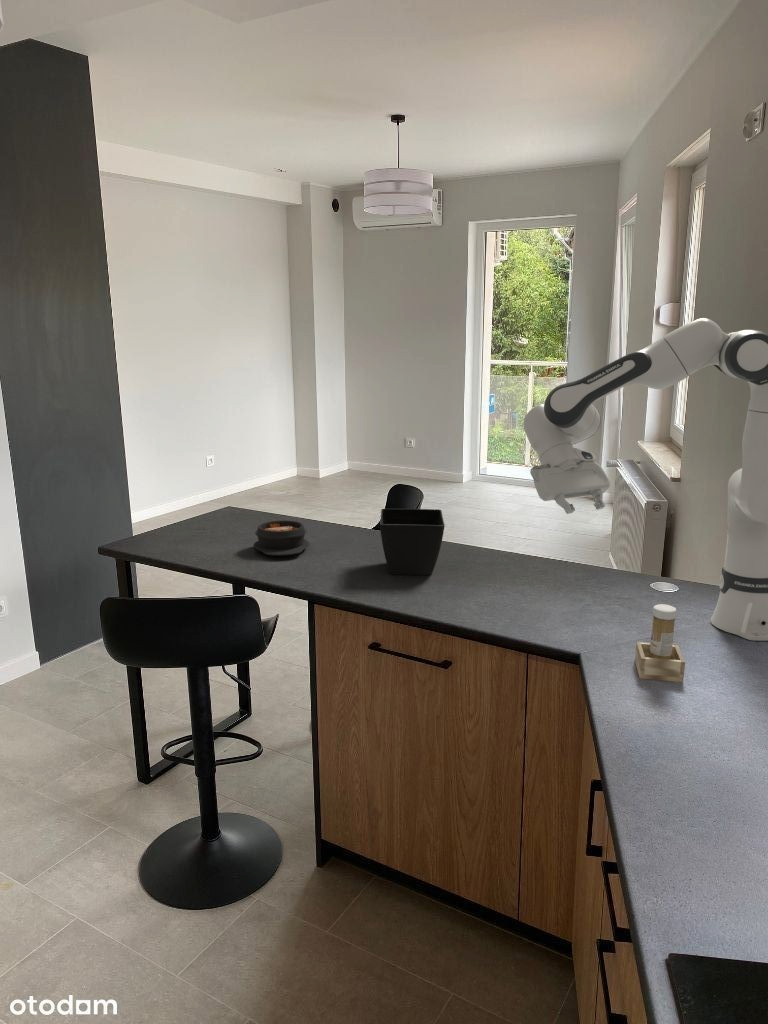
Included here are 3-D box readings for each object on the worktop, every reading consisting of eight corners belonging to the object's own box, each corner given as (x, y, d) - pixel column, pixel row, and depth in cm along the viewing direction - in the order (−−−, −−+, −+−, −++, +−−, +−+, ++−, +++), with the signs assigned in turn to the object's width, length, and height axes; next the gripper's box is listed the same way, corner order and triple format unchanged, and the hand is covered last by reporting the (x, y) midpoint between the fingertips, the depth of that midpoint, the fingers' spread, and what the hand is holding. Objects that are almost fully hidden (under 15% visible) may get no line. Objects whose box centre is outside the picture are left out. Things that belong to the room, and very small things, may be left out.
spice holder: (676, 664, 159) (678, 645, 158) (683, 682, 151) (685, 662, 150) (634, 660, 161) (636, 641, 159) (639, 678, 152) (641, 658, 151)
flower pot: (443, 579, 214) (445, 524, 210) (379, 578, 215) (379, 523, 211) (440, 560, 233) (441, 508, 229) (381, 559, 233) (381, 508, 229)
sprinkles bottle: (644, 662, 157) (649, 603, 154) (664, 661, 158) (670, 603, 155) (653, 671, 153) (659, 611, 150) (674, 670, 153) (680, 610, 150)
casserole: (252, 541, 254) (251, 518, 252) (305, 538, 257) (305, 515, 255) (254, 562, 230) (253, 537, 228) (313, 559, 234) (312, 533, 232)
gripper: (534, 458, 172) (559, 507, 166) (598, 452, 182) (625, 498, 175) (521, 474, 177) (545, 522, 171) (585, 467, 186) (610, 512, 180)
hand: (586, 510), depth 173 cm, fingers open, 8 cm apart
